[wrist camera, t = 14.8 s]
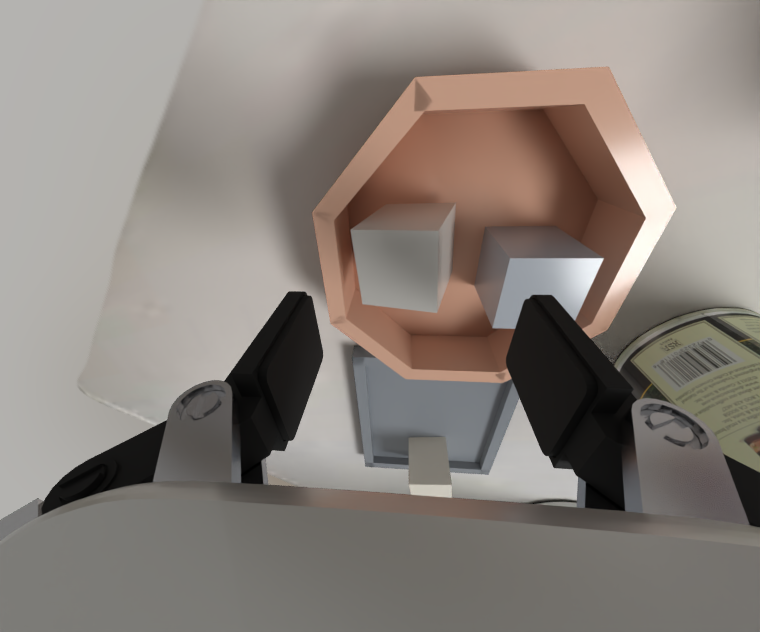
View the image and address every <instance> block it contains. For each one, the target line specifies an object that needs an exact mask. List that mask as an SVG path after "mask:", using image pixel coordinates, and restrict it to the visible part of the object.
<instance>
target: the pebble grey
mask: <svg viewBox="0 0 760 632" xmlns="http://www.w3.org/2000/svg"><path fill="white" fill-rule="evenodd" d="M455 211H456V202H454V203H413V204H386V205H384V206H383V207H381V208H380V209H379V210H377V211H376V212H375V213H373V214H372V215H370V216H369V217H368V218H366V219H365V220H363V221H362V222H361V223H359V224H358V225H356V226H355V227H354V228H352V229H351V236H352V243H353V249H354V255H355V261H356V267H357V273H358V279H359V286H360V292H361V298H362V304H365V305H374V306H382V307H391V308H399V309H408V310H416V311H425V312H433V313H437V312H438V309H439V306H440V304H441V301H442V298H443V295H444V293H445V290H446V287H447V284H448V282H449V279H450V276H451V273H452V270H453V250H454V231H455Z"/></svg>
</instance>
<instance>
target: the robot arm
mask: <svg viewBox="0 0 760 632" xmlns="http://www.w3.org/2000/svg"><path fill="white" fill-rule="evenodd" d="M322 359H323V349H322V344H321V339H320V334H319V329H318V324H317V319H316V315H315V310H314V305H313V300H312V297H311V296H307V294H306V292H288V293H287V294H286V296H285V297H284V299H283V300H282V301H281V303H280V304H279V306H278V307H277V308H276V310H275V311H274V313H273V314H272V315H271V317H270V318H269V320H268V321H267V322H266V324H265V325H264V327H263V328H262V329H261V331H260V332H259V333H258V335H257V336H256V338H255V339H254V340H253V342H252V343H251V345H250V346H249V347H248V349H247V350H246V352H245V353H244V354H243V356H242V357H241V359H240V360H239V361H238V363H237V364H236V366H235V367H234V368H233V370H232V371H231V373H230V374H229V375H228V377H227V378H226V380H225V381H220V380H212V381H207V382H203V383H201V384H198V385H195V386H194V387H192V388H190V389H188V390H187V391H185V392H184V393H183V394H182V395H180V396H179V397H178V398H177V399H176V401H175V402H174V403H173V404H172V406H171V409H170V411H169V414H168V419H167V420H166V421H164V422H162V423H160V424H158V425H156V426H154V427H152V428H150V429H149V430H147V431H145V432H143V433H141V434H139V435H137V436H135V437H133V438H131V439H129V440H127V441H125V442H123V443H121V444H119V445H117V446H115V447H113V448H111V449H109V450H107V451H105V452H103V453H101V454H99V455H97V456H95V457H93V458H91V459H89V460H87V461H86V462H84V463H82V464H81V465H79V466H77V467H75V468H74V469H73V470H72V471H70V472H69V473H68V474H67V475H65V476H64V477H63V478H62V479H61V480H60V481H59V482H58V483H57V484H56V485H55V486H54V487H53V488H52V490H51V491H50V493H49V494H48V496H47V497H46V498H45V501H42V500H40V499H39V498H37V499H36V500H34V501H32V502H30V503H29V504H27V505H25V506H23V507H22V508H20V509H18V510H17V511H15V512H13V513H11V514H10V515H8V516H6V517H4V518H3V519H1V520H0V632H760V472H758V471H756V470H754V469H752V468H750V467H748V466H746V465H744V464H742V463H740V462H738V461H736V460H734V459H732V458H731V457H729V456H727V455H725V454H723V452H722V449H721V446H720V444H719V441H718V439H717V438H716V436H715V434H714V433H713V431H712V430H711V429H710V428H709V427H708V426H707V425H706V424H705V423H704V422H703V421H701V420H700V419H699V418H697V417H696V416H695V415H693V414H692V413H690V412H688V411H686V410H684V409H683V408H681V407H679V406H676V405H674V404H671V403H669V402H666V401H662V400H658V399H650V398H644V399H639V400H637V399H636V398H635V397H634V395H633V394H632V393H631V392H632V391H633V390H634V389H633V387H632V386H631V385H630V384H629V383H628V382H627V380H626V379H625V378H624V377H623V376H622V375H621V374H620V372H619V371H618V370H617V369H616V368H615V367H614V365H613V364H612V363H611V362H610V361H609V360H608V358H607V357H606V356H605V355H604V354H603V353H602V352H601V350H600V349H599V348H598V347H597V346H596V345H595V343H594V342H593V341H592V340H591V339H590V338H589V337H588V335H587V334H586V333H585V332H584V331H583V330H582V328H581V327H580V326H579V325H578V324H577V323H576V322H575V320H574V319H573V318H572V317H571V316H570V315H569V313H568V312H567V311H566V310H565V309H564V308H563V307H562V305H561V304H560V303H559V302H558V301H557V300H556V298H555V297H554V296H553V295H531V297H530V298H529V299H525V301H524V303H523V306H522V309H521V312H520V315H519V318H518V321H517V324H516V328H515V331H514V334H513V337H512V340H511V343H510V346H509V350H508V353H507V356H506V366H507V369H508V371H509V374H510V376H511V378H512V381H513V383H514V386H515V388H516V390H517V393H518V395H519V398H520V400H521V402H522V405H523V407H524V410H525V412H526V414H527V417H528V419H529V422H530V424H531V426H532V429H533V431H534V434H535V436H536V438H537V441H538V443H539V446H540V448H541V450H542V452H543V454H544V455H546V456H549V458H550V460H551V462H552V465H553V467H554V468H562V469H573V470H574V472H575V474H576V475H577V476H578V491H577V503H575V502H545V503H538V504H527V503H514V502H502V501H488V500H475V499H461V498H448V497H435V496H421V495H407V494H394V493H380V492H366V491H352V490H337V489H323V488H308V487H294V486H279V485H268V477H267V467H266V457H268V456H269V455H270V453H271V451H272V450H277V451H285V449H286V446H287V444H288V441H292V440H293V439H294V437H295V435H296V432H297V429H298V427H299V424H300V421H301V418H302V415H303V413H304V410H305V407H306V404H307V402H308V399H309V396H310V393H311V390H312V388H313V385H314V382H315V379H316V377H317V374H318V371H319V368H320V365H321V363H322Z"/></svg>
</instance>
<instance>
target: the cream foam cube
mask: <svg viewBox="0 0 760 632" xmlns="http://www.w3.org/2000/svg"><path fill="white" fill-rule="evenodd" d="M409 488H410V492H411V495H421V496H435V497H448V498H452V484H451V476H450V468H449V460H448V452H447V444H446V437H410V438H409Z"/></svg>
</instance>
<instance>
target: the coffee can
mask: <svg viewBox="0 0 760 632" xmlns="http://www.w3.org/2000/svg"><path fill="white" fill-rule="evenodd" d="M614 367H615V368H616V369H617V370H618V371H619V372H620V374H621V375H622V376H623V377H624V378H625V379H626V380H627V382H628V383H629V384H630V385H631V386H632V387H633V389H634V390H633V391H632V392H631V393H632V394H633V395H634V397H635V398H636V399H637V400H639V399H644V398H650V399H658V400H662V401H666V402H669V403H671V404H674V405H676V406H679V407H681V408H683V409H684V410H686V411H688V412H690V413H692V414H693V415H695V416H696V417H697V418H699V419H700V420H701V421H703V422H704V423H705V424H706V425H707V426H708V427H709V428H710V429H711V430H712V431H713V433H714V434H715V436H716V438H717V439H718V441H719V444H720V446H721V449H722V452H723V454H725V455H727V456H729V457H731V458H732V459H734V460H736V461H738V462H740V463H742V464H744V465H746V466H748V467H750V468H752V469H754V470H756V471H758V472H760V314H758V313H755V312H753V311H749V310H745V309H741V308H715V309H707V310H702V311H697V312H693V313H689V314H686V315H683V316H680V317H676V318H674V319H672V320H670V321H667V322H665V323H663V324H661V325H659V326H657V327H655V328H653V329H651V330H650V331H648V332H646V333H645V334H643V335H642V336H640V337H639V338H638V339H636V340H635V341H634V342H632V343H631V344H630V345H629V346H628V347H627V348H626V349H625V350H624V351H623V352H622V353H621V355H620V357H619V358H618V359H617V361H616V363H615V365H614Z"/></svg>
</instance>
